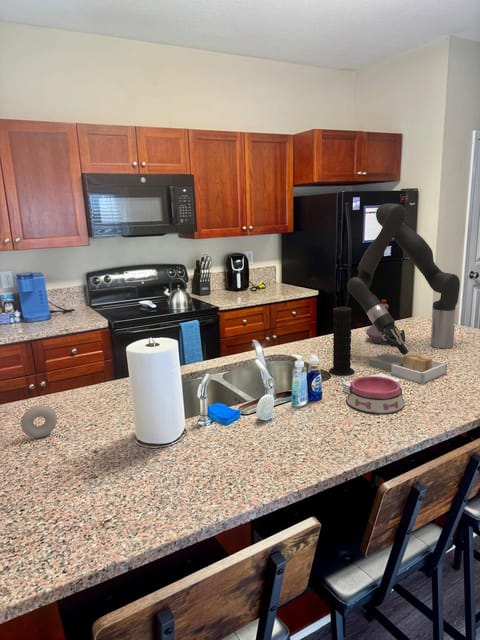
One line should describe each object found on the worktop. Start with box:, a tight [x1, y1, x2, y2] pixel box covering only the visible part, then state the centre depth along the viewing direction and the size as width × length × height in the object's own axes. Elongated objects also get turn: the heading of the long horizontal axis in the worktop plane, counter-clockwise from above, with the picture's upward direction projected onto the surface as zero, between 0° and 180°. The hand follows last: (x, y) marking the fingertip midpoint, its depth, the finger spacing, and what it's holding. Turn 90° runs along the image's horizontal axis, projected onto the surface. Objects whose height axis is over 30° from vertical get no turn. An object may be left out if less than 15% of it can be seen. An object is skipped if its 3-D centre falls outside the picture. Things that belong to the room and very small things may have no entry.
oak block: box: [402, 353, 433, 372], centre depth 168 cm, size 5×6×9 cm
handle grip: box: [328, 306, 356, 377], centre depth 172 cm, size 10×26×10 cm
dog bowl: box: [345, 375, 405, 416], centre depth 146 cm, size 18×19×7 cm
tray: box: [390, 359, 448, 385], centre depth 168 cm, size 16×13×4 cm
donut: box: [20, 404, 58, 439], centre depth 132 cm, size 10×3×10 cm, turn 122°
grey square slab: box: [368, 352, 403, 373], centre depth 178 cm, size 12×12×3 cm
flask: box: [365, 299, 391, 345], centre depth 210 cm, size 16×16×20 cm
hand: (405, 353), depth 172 cm, fingers closed
